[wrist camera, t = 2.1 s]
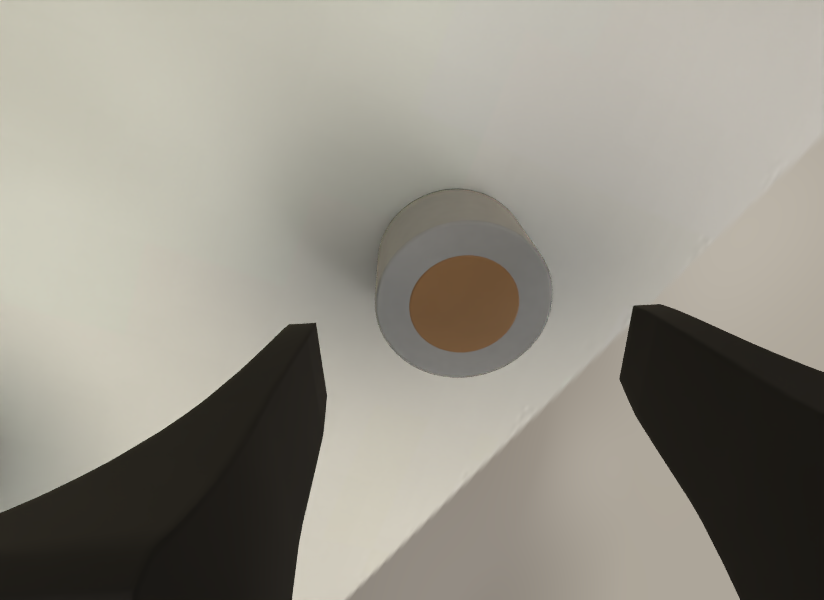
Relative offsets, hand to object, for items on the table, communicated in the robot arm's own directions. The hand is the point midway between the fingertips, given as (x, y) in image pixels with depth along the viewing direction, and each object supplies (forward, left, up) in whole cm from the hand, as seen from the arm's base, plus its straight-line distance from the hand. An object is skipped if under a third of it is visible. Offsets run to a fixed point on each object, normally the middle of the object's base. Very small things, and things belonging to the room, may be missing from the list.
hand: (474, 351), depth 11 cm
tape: (0, 0, -5) cm, 5 cm away
